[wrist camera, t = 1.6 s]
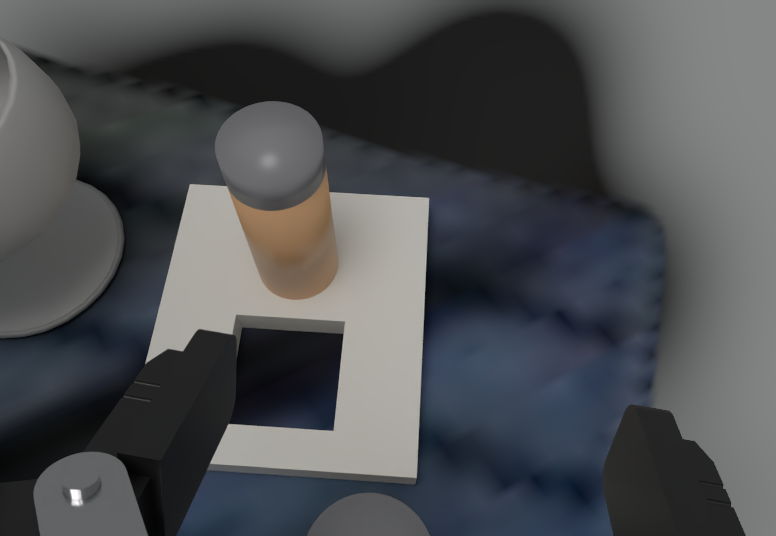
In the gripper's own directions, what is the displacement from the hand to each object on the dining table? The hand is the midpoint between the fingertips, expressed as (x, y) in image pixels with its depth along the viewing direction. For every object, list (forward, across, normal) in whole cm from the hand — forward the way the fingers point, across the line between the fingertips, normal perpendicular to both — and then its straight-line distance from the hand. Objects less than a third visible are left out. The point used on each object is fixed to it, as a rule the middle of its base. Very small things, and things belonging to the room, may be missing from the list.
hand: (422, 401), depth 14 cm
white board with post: (+23, +7, +15) cm, 29 cm away
